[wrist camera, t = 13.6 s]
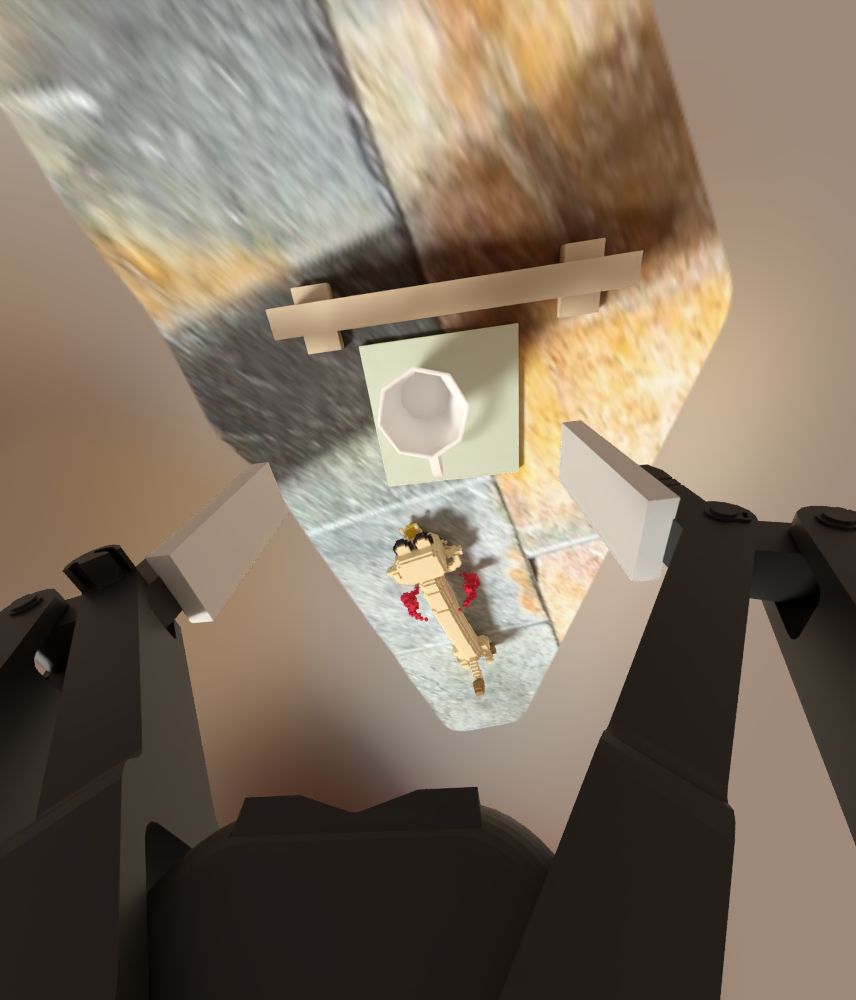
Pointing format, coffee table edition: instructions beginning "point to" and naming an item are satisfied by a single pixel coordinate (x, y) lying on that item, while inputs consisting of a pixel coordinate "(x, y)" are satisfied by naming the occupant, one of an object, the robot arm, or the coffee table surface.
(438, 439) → the cup
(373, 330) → the coffee table surface
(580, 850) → the robot arm
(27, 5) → the coffee table surface
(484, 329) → the board
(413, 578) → the beige blocky creature toy
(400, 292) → the wooden plank with feet
